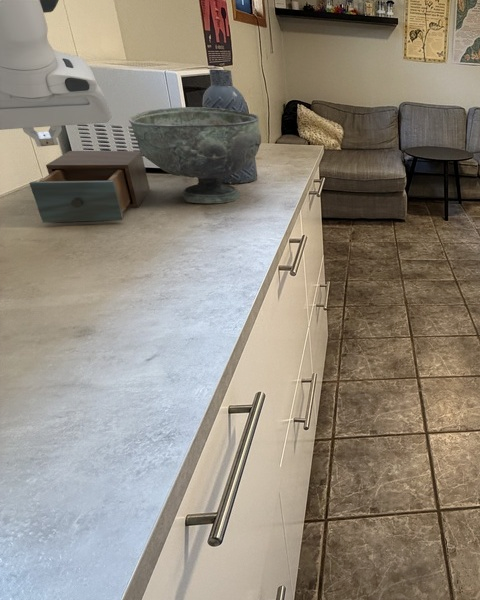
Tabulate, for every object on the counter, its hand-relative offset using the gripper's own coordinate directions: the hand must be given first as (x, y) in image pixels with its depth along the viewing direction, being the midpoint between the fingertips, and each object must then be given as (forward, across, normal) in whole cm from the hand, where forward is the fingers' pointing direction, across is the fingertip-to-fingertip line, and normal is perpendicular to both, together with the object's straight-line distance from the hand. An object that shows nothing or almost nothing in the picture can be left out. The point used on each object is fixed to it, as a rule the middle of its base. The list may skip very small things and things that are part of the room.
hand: (47, 143), depth 82 cm
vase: (+32, +41, +16) cm, 54 cm away
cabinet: (+27, +9, +12) cm, 31 cm away
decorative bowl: (+23, +29, +3) cm, 37 cm away
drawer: (+20, +4, +2) cm, 21 cm away
